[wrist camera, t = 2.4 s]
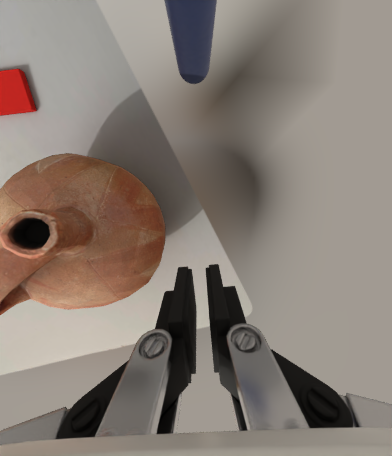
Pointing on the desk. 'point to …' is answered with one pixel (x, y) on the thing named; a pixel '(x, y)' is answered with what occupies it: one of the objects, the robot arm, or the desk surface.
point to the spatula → (15, 93)
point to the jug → (76, 234)
